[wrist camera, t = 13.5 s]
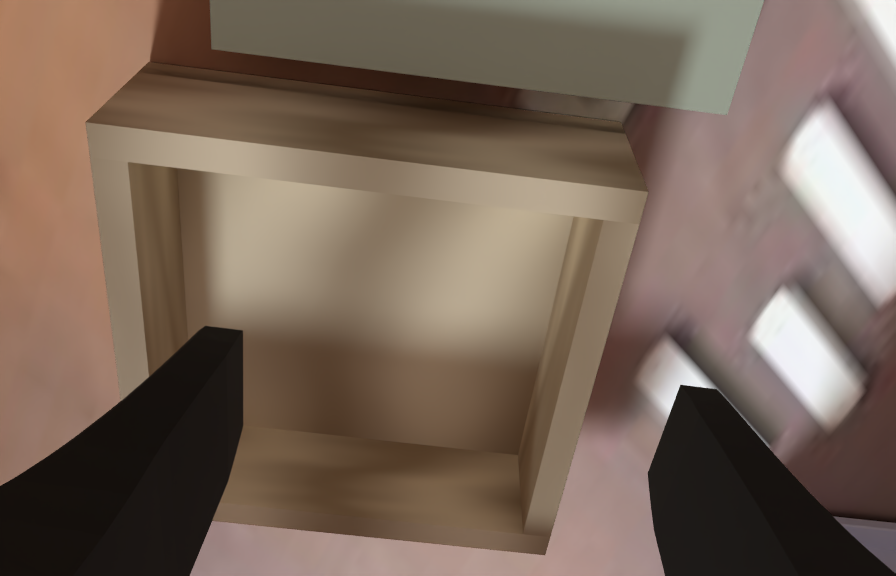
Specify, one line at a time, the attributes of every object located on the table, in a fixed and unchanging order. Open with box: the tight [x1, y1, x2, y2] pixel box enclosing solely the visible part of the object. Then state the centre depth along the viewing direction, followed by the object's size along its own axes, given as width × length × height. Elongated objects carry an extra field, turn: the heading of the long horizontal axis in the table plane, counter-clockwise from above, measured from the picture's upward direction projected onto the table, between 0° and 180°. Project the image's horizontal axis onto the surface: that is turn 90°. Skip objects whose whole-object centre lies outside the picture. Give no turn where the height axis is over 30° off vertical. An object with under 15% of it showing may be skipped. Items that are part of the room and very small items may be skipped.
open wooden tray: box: [86, 62, 648, 555], centre depth 22 cm, size 12×12×4 cm
